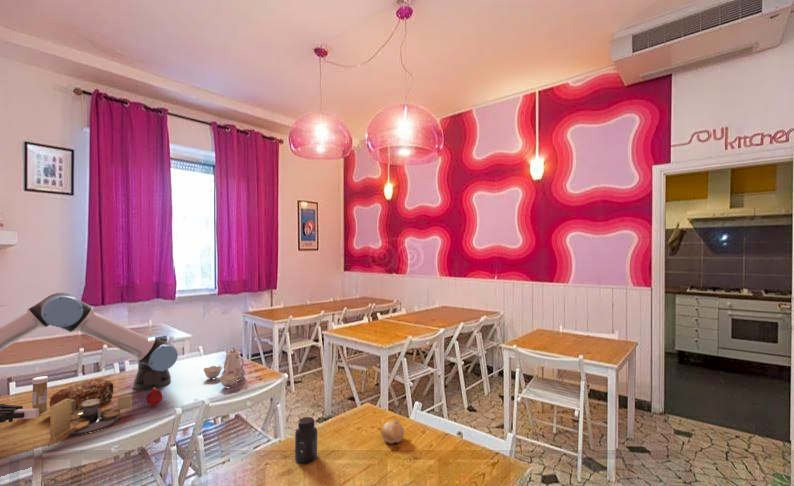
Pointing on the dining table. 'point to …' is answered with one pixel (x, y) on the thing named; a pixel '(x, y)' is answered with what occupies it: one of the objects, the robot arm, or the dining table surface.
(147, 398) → the onion
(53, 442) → the tan upright wooden panel
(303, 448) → the supplement bottle
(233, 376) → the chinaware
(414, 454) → the dining table surface
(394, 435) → the onion
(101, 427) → the tribrach plate
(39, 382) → the sprinkles bottle
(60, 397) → the bread
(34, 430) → the dining table surface
